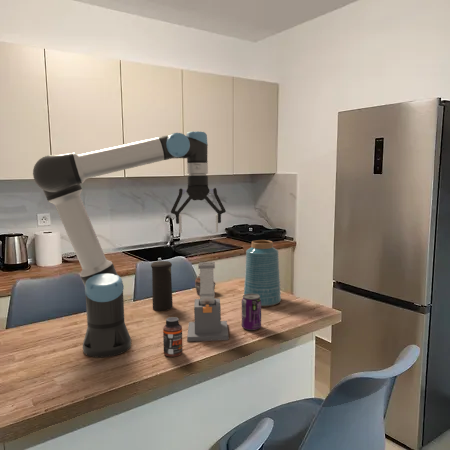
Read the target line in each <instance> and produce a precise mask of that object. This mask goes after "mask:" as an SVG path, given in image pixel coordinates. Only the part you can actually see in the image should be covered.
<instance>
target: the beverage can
mask: <svg viewBox="0 0 450 450" xmlns="http://www.w3.org/2000/svg"><path fill="white" fill-rule="evenodd" d="M241 327H242V328H243V329H245V330H247V331H256V330H258V329H260V328H262V307H261V300H260V296H259V295H258V294H245V295H244V294H243V295H242V299H241Z"/></svg>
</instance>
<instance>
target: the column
mask: <svg viewBox="0 0 450 450" xmlns="http://www.w3.org/2000/svg"><path fill="white" fill-rule="evenodd" d="M214 269H216V264H215V261H206V262H205V261H200V262H198V270H199V274H200V296H199V299H200V306H206V304H209V305H215V299H216V298H215V296H216V295H215V294H216V293H215V291H216V290H215V289H214V282H215V279H214Z"/></svg>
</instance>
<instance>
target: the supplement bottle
mask: <svg viewBox="0 0 450 450" xmlns="http://www.w3.org/2000/svg"><path fill="white" fill-rule="evenodd" d="M165 323H166V324H164V326H163V327H162V331H163V332H162V333H163V335H162V337H163V354H164V356H166V357H169V358H174V357H179V356H181V355H182V353H183V326H182V325H181V324H180V319H179V318H178V317H177V316H175V317H174V316H171V317H170V316H169V317H166V319H165Z"/></svg>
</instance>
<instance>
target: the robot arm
mask: <svg viewBox="0 0 450 450" xmlns="http://www.w3.org/2000/svg"><path fill="white" fill-rule="evenodd" d="M208 146H209V145H208V135H207V133H206V132H205V131H187V132H186V134H184V133H182V132H172V133H171V134H168V135H162V136H156V137H154V138H153V137H152V138H149V139H144V140H140V141H135V142H131V143H127V144H122V145H118V146H113V147H108V148H103V149H100V150H99V149H98V150H95V151H90V152H86V153H80V154H78V153H76V152H74V151H73V152H70V153H63V154H50V155H45V156H42V157H40V158H39V159H38V160H37V161H36V162H35V164H34V166H33V170H32V176H33V180H34V182H35V183H36V185H37V186H38V187H39V188H40V189H41V190H42V191H43V193H44V196H45V198H46V200H47V202H48V203H51V204H53V205H54V206H55V208H56V211H57V213H58V215H59V218H60V220H61V222H62V224H63V228H64V230H65V232H66V235H67V236H68V239H69V242H70V244H71V246H72V249H73V250H74V252H75V255H76V257H77V260H78V261H79V264H80V267H81V272H80V274H79V276H80V279H81V281H82V283H83V285H84V286H83V287H84V295H85V303H86V304H85V307H86V323H87V327H86V332H85V334H84V339H83V343H82V353H83V354H84V355H86V356H88V357H92V358H107V357H108V358H110V357H114V356H118V355H120V354H123V353H125V352H127V351H128V350H129V349H130V348H131V346H132V339H131V336H130V335H131V334H130V333H129V331H128V328H127V325H126V323H125V307H124V306H125V304H124V303H125V302H124V301H125V300H124V290H125V289H124V283H123V279H122V277H121V276H120V275H118V273H117V270H116V268H115V266H114V263H113V262H112V260H109V259H107V258H106V256H105V253H104V251H103V248H102V246H101V243H100V240H99V239H98V236H97V234H96V231H95V229H94V226H93V225H92V222H91V220H90V217H89V215H88V211H87V210H86V207H85V205H84V202H83V200H82V197H81V193H82V191H83V188H82V185H81V184H84V182H85V181H86V180H87V179H91V178H95V177H96V178H97V177H98V176H99V177H100V176H104V175H109V174H112V173H117V172H121V171H125V170H129V169H133V168H136V167H137V168H138V167H141V166H145V165H150V164H154V163H157V162H159V163H160V162H162V161H167V160H170V159H186V164H187V165H186V167H187V168H186V169H187V171H186V173H187V174H188V175H187V188H182V187H180V188H179V190H178V195H177V198H176V199H175V202H174V203H173V206H172V208H171V209H170V214H172V215H175V224H177V225H178V234H181V233H182V230H183V229H182V227H183V225H182V224H183V223H182V214H181V212H182V211H183V210H184V209H185V207H187V205H188V204H189V203H190V201H191V200H193V201H203V200H205V201H206V202H207V203H208V204H209V206H210V207H211V208H212V209H213V210H214V211H215V212H216V213H215V233H219V224H221V222H222V214H225V213H226V212H227V211H226V208H225V207H224V205H223V203H222V201H221V199H220V197H219V195H218V191H217V188H216V187H214V188H213V187H212V188H209V176H208V175H207V174H209V164H208V163H209V161H208V153H209V152H208ZM210 193H211V194H212V195H213V196H214V198H215V199H216V203H218V205H219V208H220V209H219V208H218V207H217V206H216V204H214V202H213V201H212V200H211V199H210V198H209V196H208V195H209V194H210ZM185 194H188V197H187V198H186V200H185V201H184V202H183V204H181V206H180V207H179V208H178V210H177V207H178V205H179V203H180V201H181V199H182V197H183V195H185Z"/></svg>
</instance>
